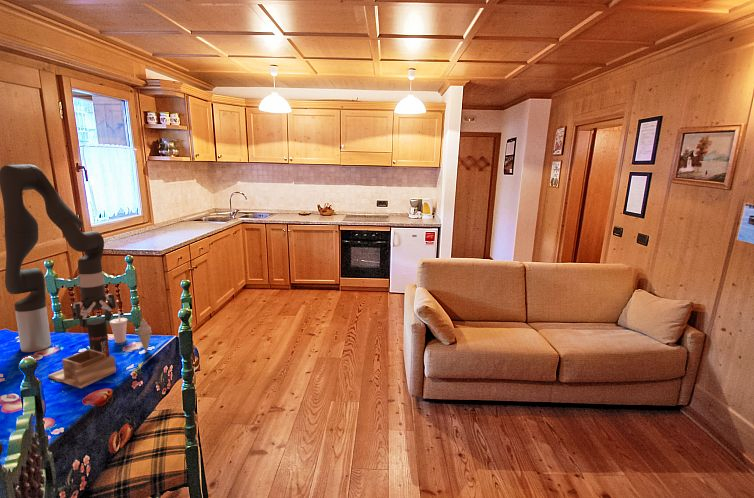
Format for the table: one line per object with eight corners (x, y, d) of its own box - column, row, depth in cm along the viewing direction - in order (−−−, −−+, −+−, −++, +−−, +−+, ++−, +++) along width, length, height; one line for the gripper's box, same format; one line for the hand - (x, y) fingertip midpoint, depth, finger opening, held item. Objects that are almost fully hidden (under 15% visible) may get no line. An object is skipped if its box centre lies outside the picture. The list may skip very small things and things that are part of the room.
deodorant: (101, 361, 143) (97, 325, 141) (87, 360, 144) (83, 324, 141) (113, 354, 149) (109, 319, 146) (99, 353, 150) (96, 318, 147)
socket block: (64, 376, 130) (62, 359, 129) (91, 365, 139) (89, 348, 137) (81, 382, 127) (79, 364, 126) (107, 370, 136) (106, 353, 134)
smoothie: (120, 345, 157) (117, 314, 155) (107, 343, 158) (104, 312, 156) (132, 339, 163) (130, 309, 161) (120, 337, 165) (117, 307, 162)
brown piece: (48, 377, 131) (46, 361, 130) (85, 362, 142) (83, 348, 141) (80, 388, 125) (78, 372, 124) (116, 371, 137) (114, 356, 135)
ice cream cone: (140, 349, 154) (137, 315, 151) (154, 347, 156) (151, 314, 153) (137, 354, 150) (134, 320, 147) (152, 353, 152) (149, 318, 149)
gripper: (78, 289, 133) (83, 332, 136) (117, 280, 146) (121, 319, 149) (64, 287, 135) (69, 328, 138) (104, 278, 149) (108, 316, 151)
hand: (96, 323), depth 144 cm, fingers open, 8 cm apart
